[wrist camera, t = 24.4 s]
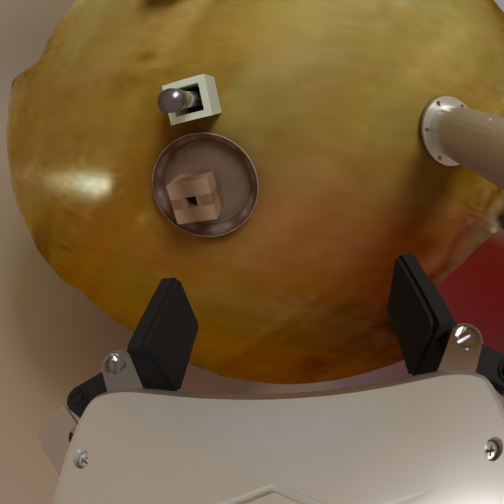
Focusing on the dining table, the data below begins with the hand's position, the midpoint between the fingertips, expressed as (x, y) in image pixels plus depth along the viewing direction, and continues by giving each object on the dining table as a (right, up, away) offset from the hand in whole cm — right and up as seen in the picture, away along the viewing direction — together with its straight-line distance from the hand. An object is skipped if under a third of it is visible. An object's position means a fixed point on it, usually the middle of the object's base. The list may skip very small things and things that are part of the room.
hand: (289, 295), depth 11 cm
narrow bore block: (-9, +12, +30) cm, 34 cm away
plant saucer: (-9, +13, +33) cm, 37 cm away
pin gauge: (-10, +25, +25) cm, 36 cm away
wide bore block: (-10, +25, +25) cm, 36 cm away
